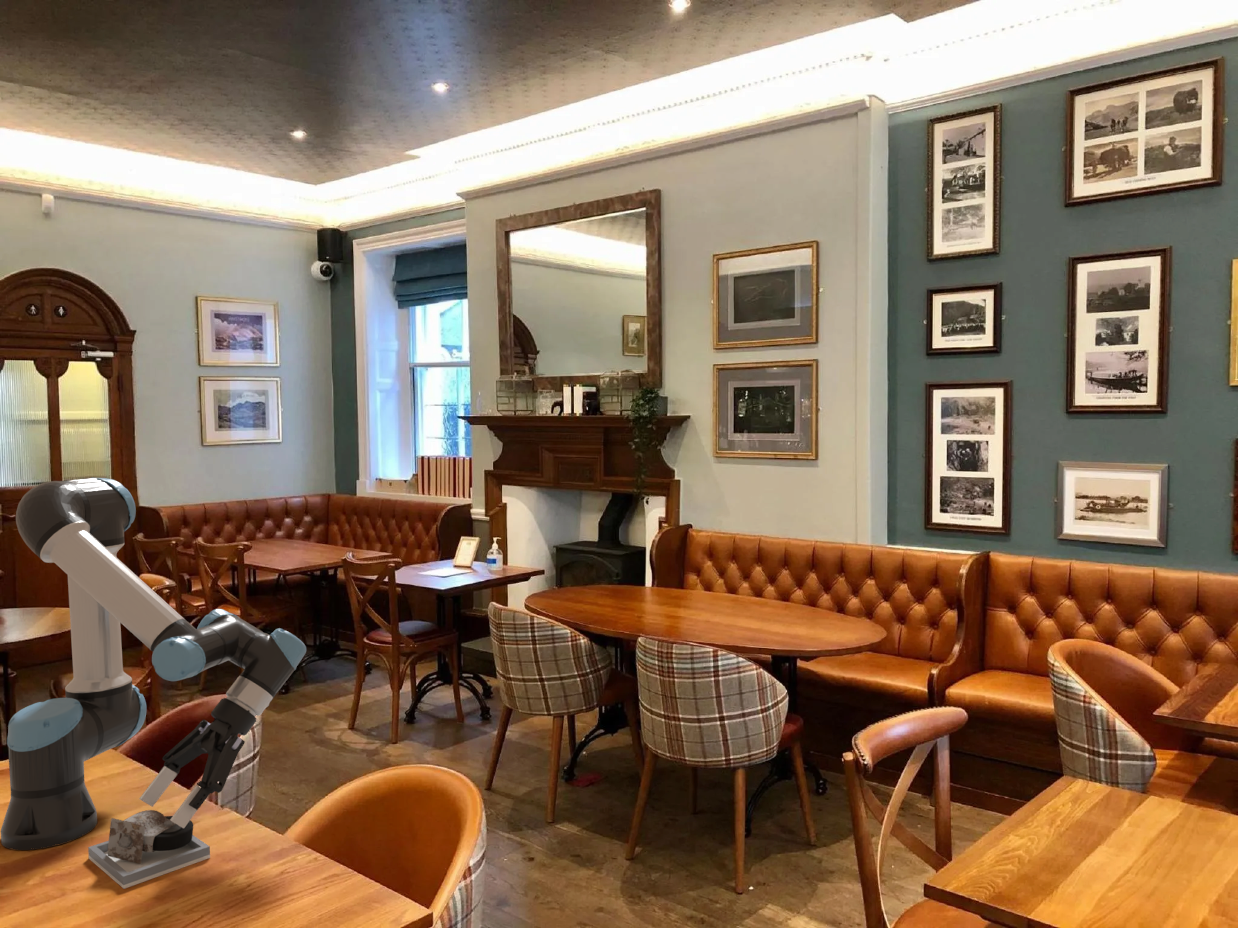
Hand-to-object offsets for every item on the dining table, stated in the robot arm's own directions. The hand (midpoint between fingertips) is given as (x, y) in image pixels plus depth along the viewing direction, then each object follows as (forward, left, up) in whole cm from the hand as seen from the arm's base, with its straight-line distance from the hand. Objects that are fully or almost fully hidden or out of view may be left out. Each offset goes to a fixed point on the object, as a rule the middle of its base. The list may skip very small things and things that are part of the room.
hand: (160, 813), depth 161 cm
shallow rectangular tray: (-1, -2, -7) cm, 8 cm away
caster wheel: (-1, 0, -6) cm, 6 cm away
